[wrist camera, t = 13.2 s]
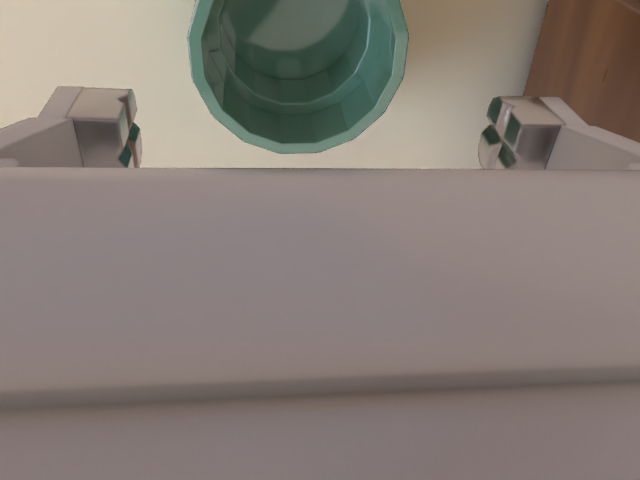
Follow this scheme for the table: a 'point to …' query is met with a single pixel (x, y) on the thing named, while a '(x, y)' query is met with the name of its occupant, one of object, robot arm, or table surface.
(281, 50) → the cylindrical container
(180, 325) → the robot arm
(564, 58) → the drawer
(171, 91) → the table surface
